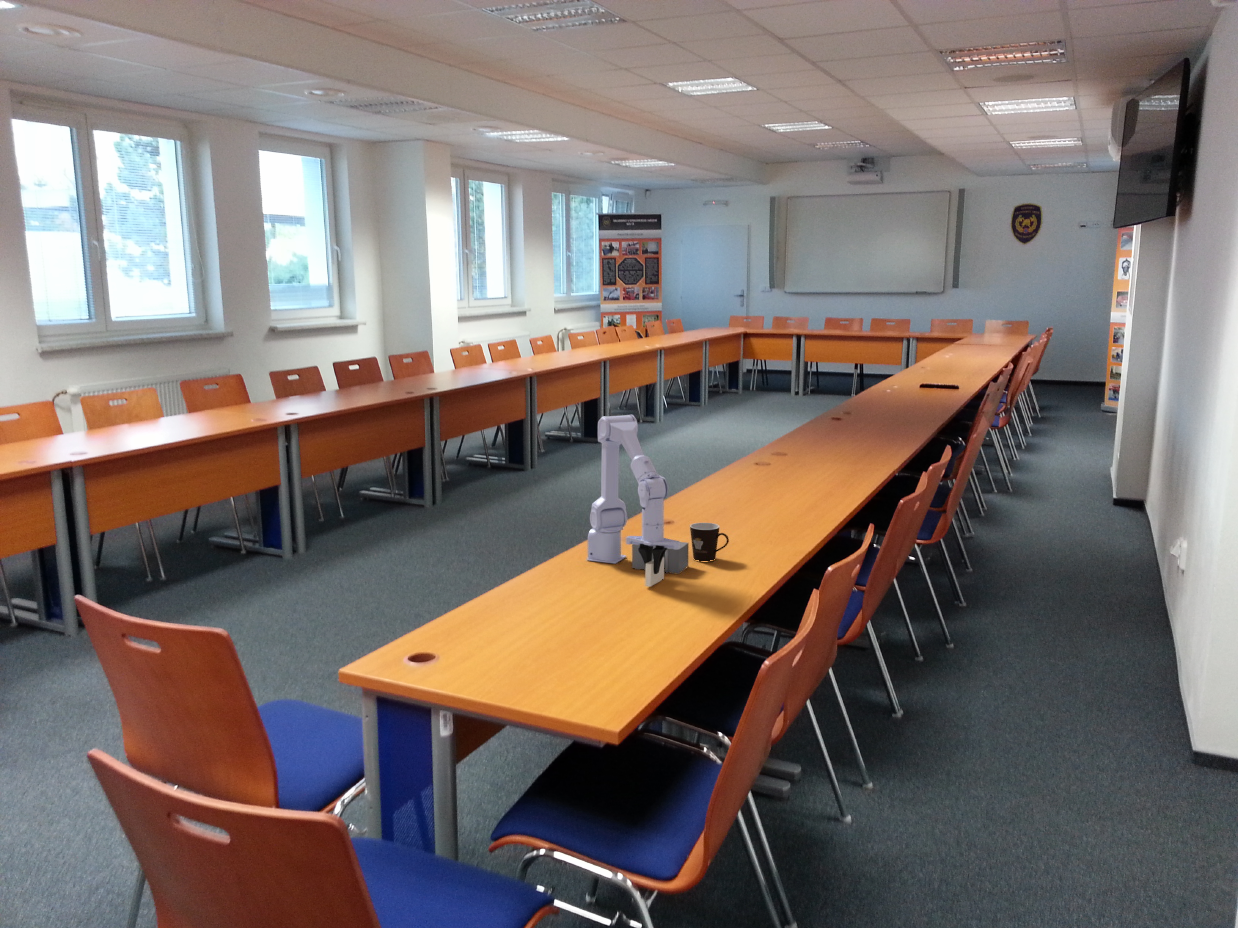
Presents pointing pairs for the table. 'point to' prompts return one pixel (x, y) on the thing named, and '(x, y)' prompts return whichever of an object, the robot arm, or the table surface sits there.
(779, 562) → the table surface
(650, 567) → the white flat block
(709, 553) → the coffee mug
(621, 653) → the table surface
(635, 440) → the robot arm
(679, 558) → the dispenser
